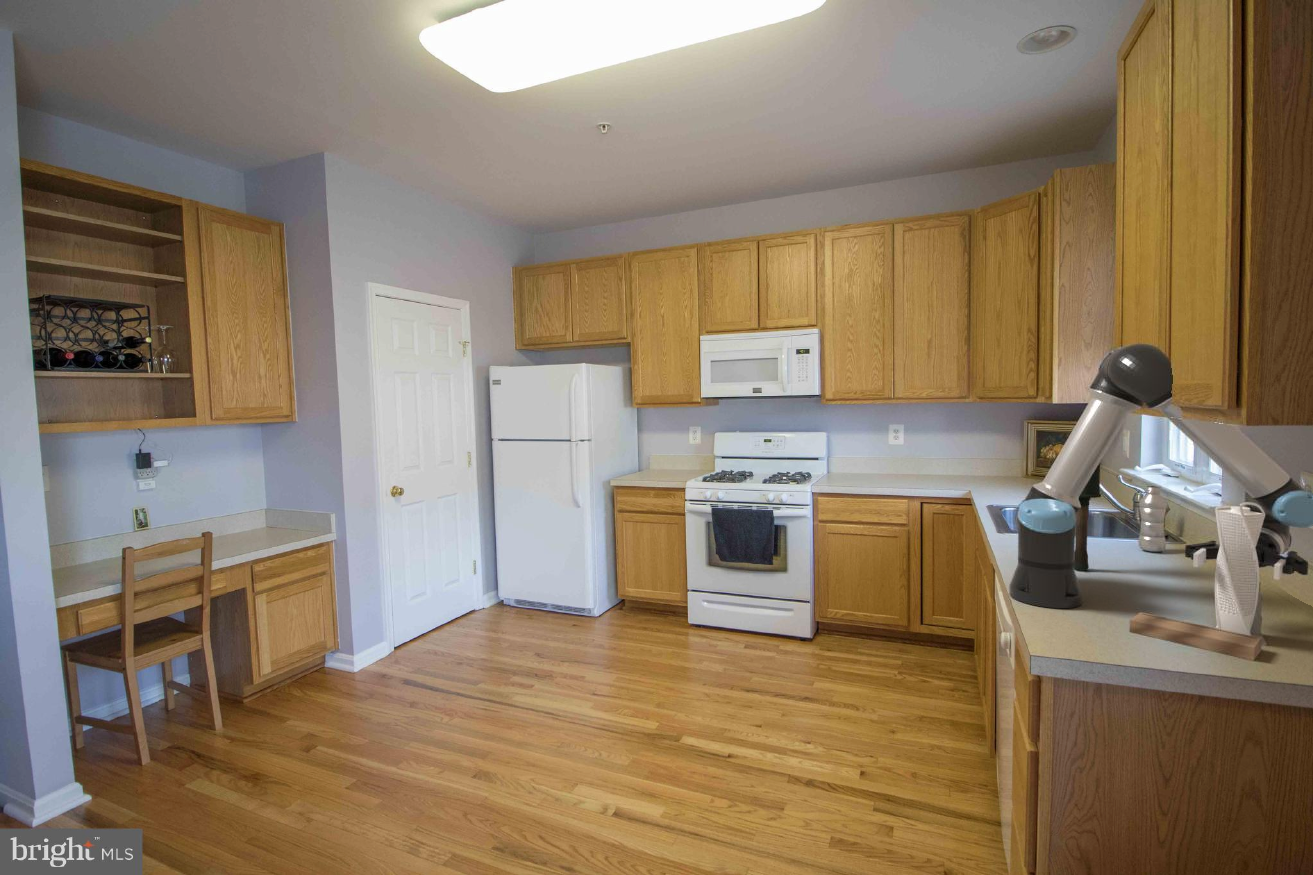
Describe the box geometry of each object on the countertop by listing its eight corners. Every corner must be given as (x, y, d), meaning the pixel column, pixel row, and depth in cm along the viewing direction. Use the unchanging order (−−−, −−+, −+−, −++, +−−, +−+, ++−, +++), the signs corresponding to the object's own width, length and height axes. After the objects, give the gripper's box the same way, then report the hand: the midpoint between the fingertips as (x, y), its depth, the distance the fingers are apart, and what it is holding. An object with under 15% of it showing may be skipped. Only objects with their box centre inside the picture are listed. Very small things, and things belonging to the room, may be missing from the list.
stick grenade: (1106, 574, 171) (1109, 464, 169) (1074, 574, 171) (1077, 465, 169) (1086, 565, 180) (1088, 461, 177) (1055, 566, 180) (1057, 461, 178)
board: (1129, 631, 131) (1129, 619, 131) (1140, 623, 135) (1140, 611, 135) (1253, 660, 116) (1254, 646, 116) (1261, 650, 121) (1261, 637, 120)
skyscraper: (1267, 648, 122) (1274, 504, 120) (1211, 638, 126) (1217, 501, 124) (1260, 634, 128) (1267, 498, 126) (1208, 625, 133) (1213, 495, 131)
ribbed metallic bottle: (1163, 555, 188) (1165, 489, 187) (1135, 551, 193) (1137, 486, 192) (1167, 551, 193) (1169, 486, 191) (1140, 547, 198) (1142, 484, 196)
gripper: (1335, 575, 128) (1320, 599, 115) (1187, 554, 147) (1159, 572, 134) (1337, 539, 128) (1322, 559, 114) (1188, 522, 146) (1160, 537, 133)
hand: (1234, 566), depth 124 cm, fingers open, 11 cm apart
